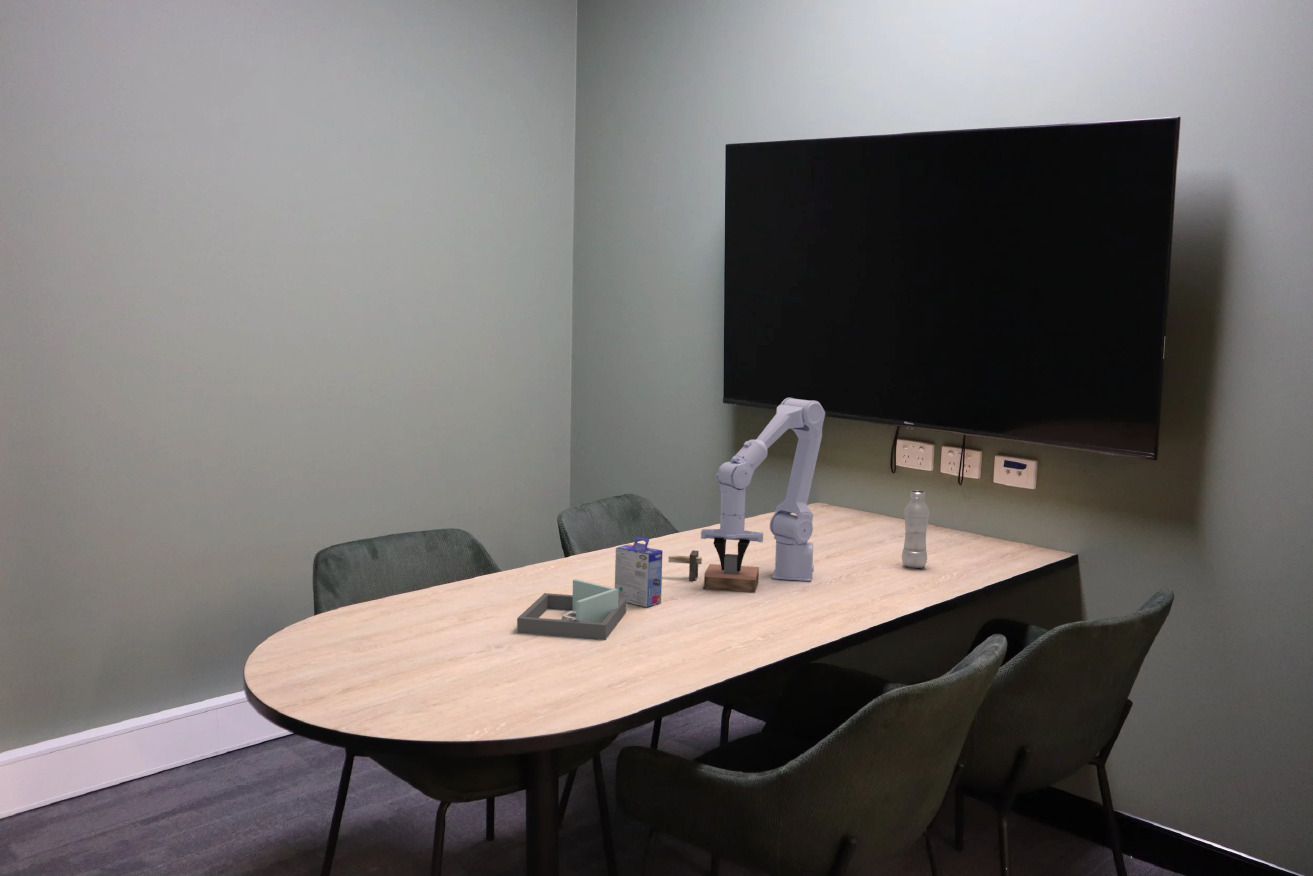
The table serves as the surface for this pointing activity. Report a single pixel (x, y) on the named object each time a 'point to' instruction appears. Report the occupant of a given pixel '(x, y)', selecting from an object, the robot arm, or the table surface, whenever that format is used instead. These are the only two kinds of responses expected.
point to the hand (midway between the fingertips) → (731, 569)
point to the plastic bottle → (915, 531)
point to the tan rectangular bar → (683, 559)
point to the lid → (731, 569)
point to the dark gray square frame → (567, 628)
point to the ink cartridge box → (639, 573)
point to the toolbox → (721, 579)
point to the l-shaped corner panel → (591, 602)
